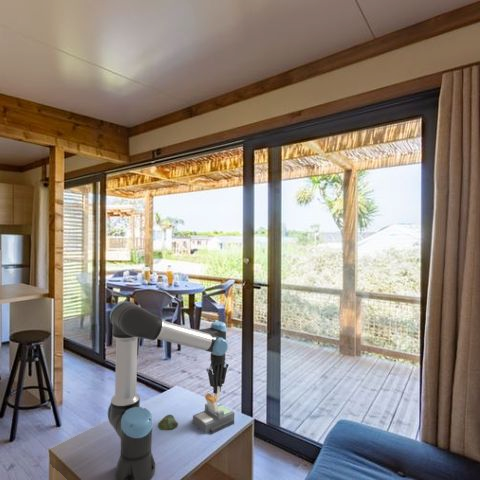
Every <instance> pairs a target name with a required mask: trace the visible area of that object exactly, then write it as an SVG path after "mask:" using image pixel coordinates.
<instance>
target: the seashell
mask: <svg viewBox="0 0 480 480" xmlns="http://www.w3.org/2000/svg"><path fill="white" fill-rule="evenodd" d="M178 426H179V422H177V420H176V418H175V417H174V415H172V414H167V415H165V416H164V417H163V418H161V420H160V421H158V424H157V428H158V429H159V430H161V431H165V432H167V431H173V430H176V429H177V428H178Z"/></svg>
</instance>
